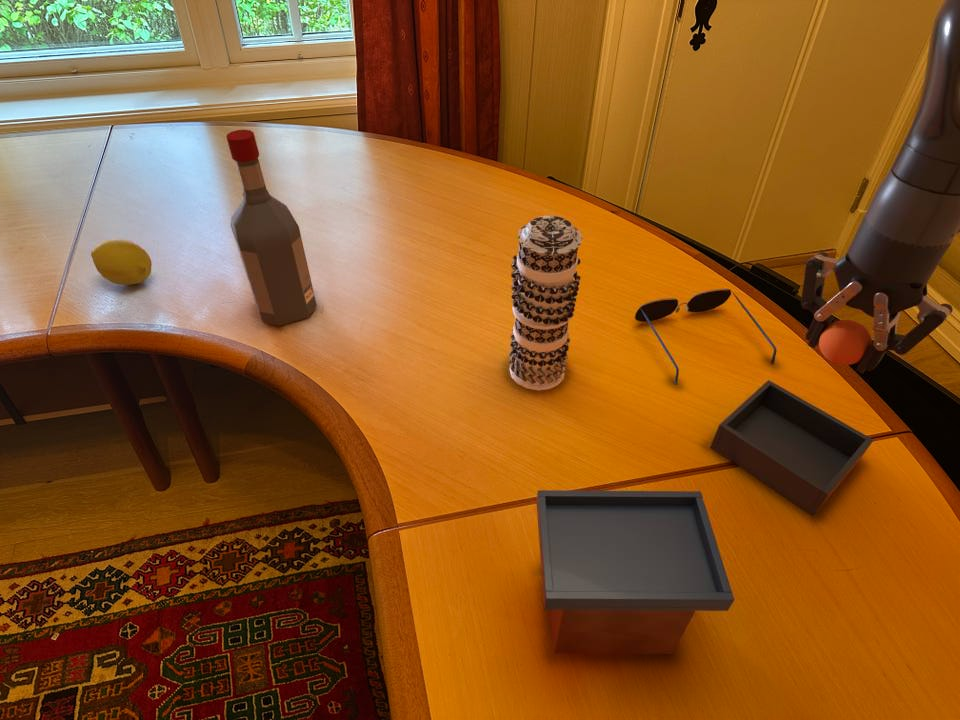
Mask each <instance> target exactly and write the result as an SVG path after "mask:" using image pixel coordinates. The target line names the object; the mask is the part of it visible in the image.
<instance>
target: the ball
mask: <svg viewBox="0 0 960 720" xmlns="http://www.w3.org/2000/svg"><path fill="white" fill-rule="evenodd" d="M872 339H873V338H872V335H871V333H870V330H868V328H867V327H865V325H863V324H862V323H860V322H858V321H856V320H851V319H840V320H835V321H834V322H831V323H830V325H828V326H827V327H826V328H825V329H824V330H823V332H822V333H821V335H820V339H819V344H818V346H819V350H820V352H821V354H822V356H823V357H824V358H825V359H827V360H828V361H829V362H831V363H833V364H836V365H839V366H850V365H854V364H857V363H860V362H861V360H862V358H863V356H864V355H865V353H866V351H867V350H868V348H869V346H870V345H871V344H872V343H873V340H872Z"/></svg>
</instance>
